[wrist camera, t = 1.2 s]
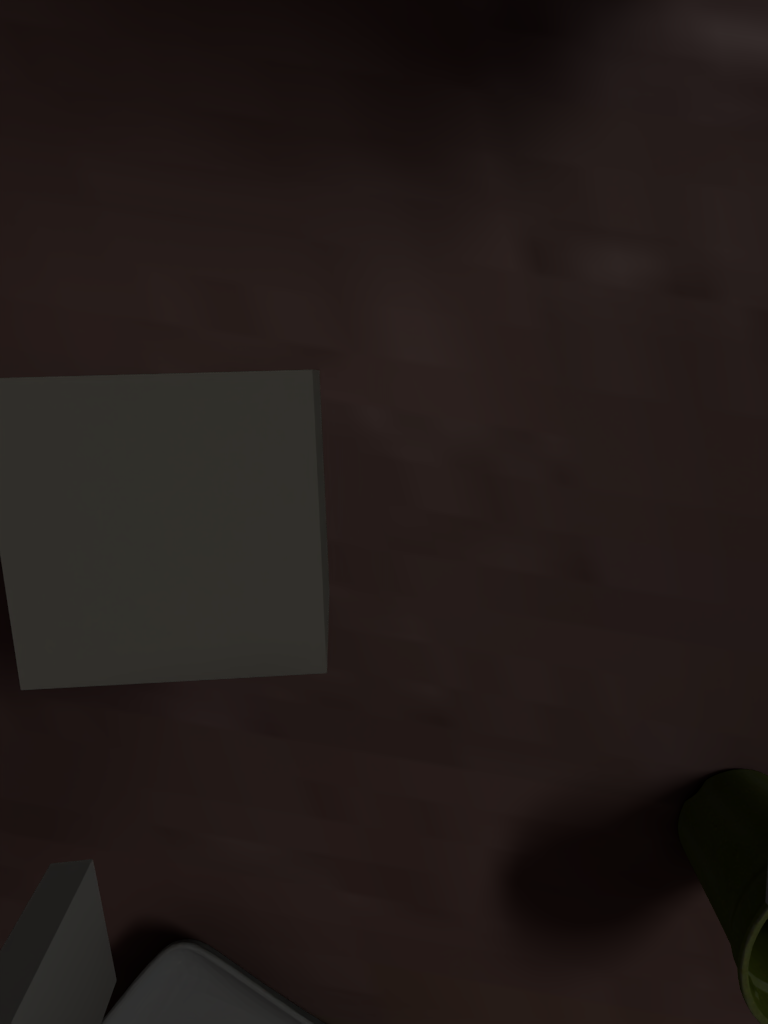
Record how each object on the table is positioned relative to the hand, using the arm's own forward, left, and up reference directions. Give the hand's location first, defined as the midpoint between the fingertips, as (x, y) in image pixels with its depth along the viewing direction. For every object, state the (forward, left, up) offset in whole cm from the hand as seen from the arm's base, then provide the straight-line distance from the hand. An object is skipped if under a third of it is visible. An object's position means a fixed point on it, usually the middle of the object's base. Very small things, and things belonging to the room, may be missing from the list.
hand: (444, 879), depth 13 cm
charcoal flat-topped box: (-5, -8, -19) cm, 21 cm away
